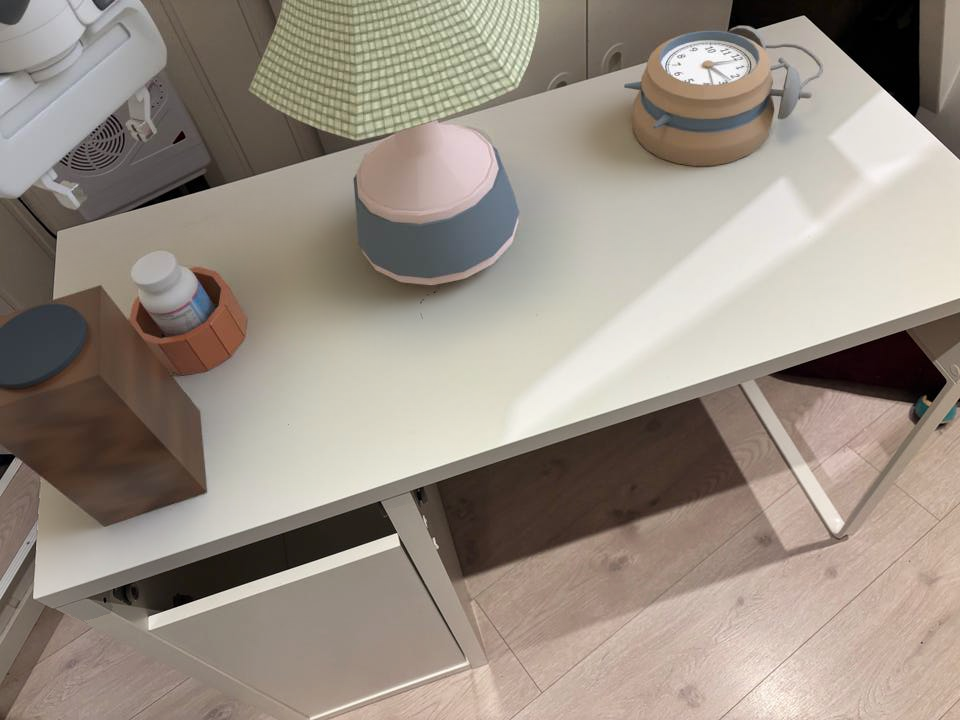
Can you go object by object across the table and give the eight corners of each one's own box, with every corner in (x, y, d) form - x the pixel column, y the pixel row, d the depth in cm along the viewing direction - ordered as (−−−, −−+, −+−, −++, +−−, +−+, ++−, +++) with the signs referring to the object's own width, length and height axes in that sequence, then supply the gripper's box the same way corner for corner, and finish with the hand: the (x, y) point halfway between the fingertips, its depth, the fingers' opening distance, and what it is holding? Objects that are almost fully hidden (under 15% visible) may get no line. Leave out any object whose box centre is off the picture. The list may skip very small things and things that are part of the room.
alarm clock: (612, 40, 92) (786, -7, 93) (611, 105, 99) (772, 60, 101) (670, 116, 82) (864, 61, 83) (664, 182, 89) (842, 131, 90)
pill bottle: (195, 309, 86) (149, 239, 77) (237, 322, 84) (194, 252, 75) (163, 349, 83) (110, 280, 74) (205, 363, 81) (156, 294, 72)
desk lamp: (305, 210, 94) (148, -170, 61) (512, 141, 97) (469, -256, 64) (353, 356, 79) (178, -46, 46) (597, 268, 82) (597, -167, 49)
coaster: (-20, 402, 56) (-25, 398, 55) (-9, 326, 60) (-14, 321, 60) (86, 369, 56) (82, 364, 56) (88, 296, 61) (84, 291, 61)
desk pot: (210, 384, 79) (187, 353, 75) (135, 360, 83) (109, 329, 78) (264, 312, 84) (246, 279, 80) (191, 291, 88) (170, 259, 84)
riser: (104, 527, 70) (-35, 417, 55) (105, 441, 76) (-20, 321, 61) (207, 492, 71) (99, 374, 56) (200, 410, 77) (100, 284, 62)
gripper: (-66, 108, 49) (56, 256, 60) (135, -43, 59) (207, 107, 70) (-126, 94, 51) (3, 240, 62) (78, -49, 61) (157, 98, 72)
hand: (113, 169), depth 66 cm, fingers open, 8 cm apart
